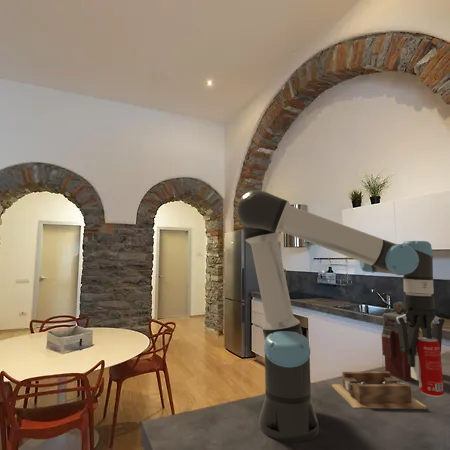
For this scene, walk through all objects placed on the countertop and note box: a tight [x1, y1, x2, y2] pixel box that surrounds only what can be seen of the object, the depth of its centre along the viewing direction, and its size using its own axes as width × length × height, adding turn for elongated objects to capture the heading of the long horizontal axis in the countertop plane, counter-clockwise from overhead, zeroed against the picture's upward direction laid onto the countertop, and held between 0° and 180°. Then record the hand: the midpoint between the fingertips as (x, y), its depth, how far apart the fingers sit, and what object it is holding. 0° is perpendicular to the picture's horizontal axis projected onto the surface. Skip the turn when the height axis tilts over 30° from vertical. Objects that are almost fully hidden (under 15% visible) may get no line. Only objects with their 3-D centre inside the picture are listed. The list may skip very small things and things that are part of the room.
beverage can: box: [416, 336, 445, 398], centre depth 91 cm, size 6×6×15 cm
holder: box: [331, 370, 428, 410], centre depth 106 cm, size 22×18×6 cm
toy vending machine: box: [381, 301, 419, 382], centre depth 128 cm, size 9×11×28 cm
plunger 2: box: [382, 379, 406, 384], centre depth 106 cm, size 7×2×2 cm, turn 92°
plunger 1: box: [345, 381, 367, 391], centre depth 106 cm, size 7×2×2 cm, turn 92°
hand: (421, 378), depth 92 cm, fingers closed on beverage can, 3 cm apart
